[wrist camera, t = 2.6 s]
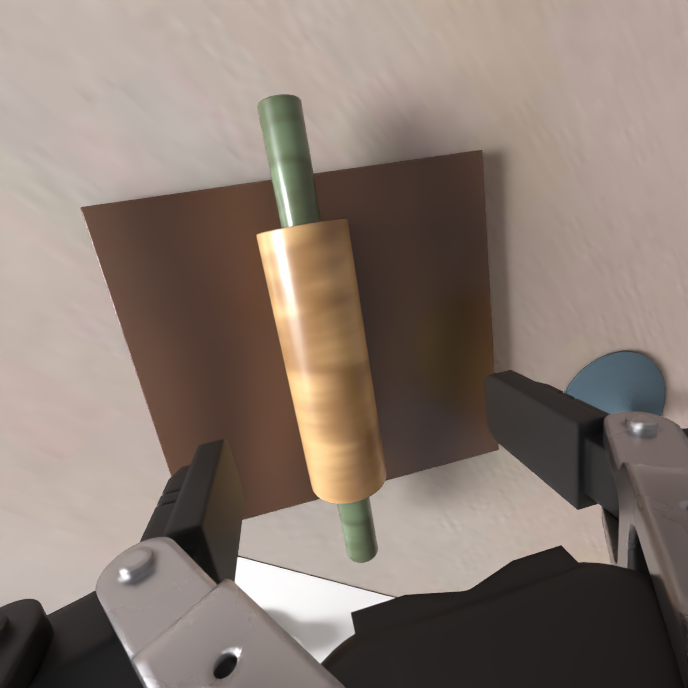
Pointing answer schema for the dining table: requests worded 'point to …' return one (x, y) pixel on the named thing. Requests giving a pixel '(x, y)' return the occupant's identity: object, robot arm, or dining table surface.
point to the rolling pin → (321, 331)
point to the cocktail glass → (621, 384)
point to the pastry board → (260, 328)
